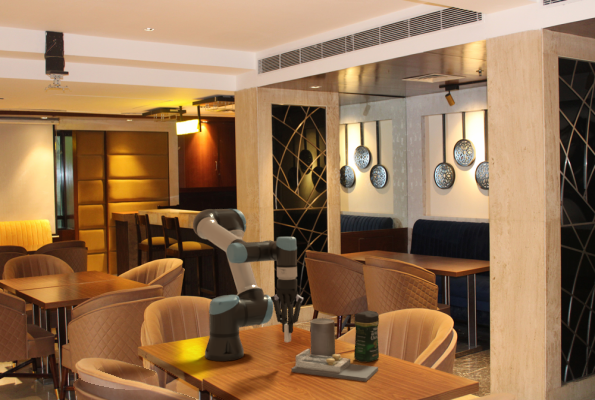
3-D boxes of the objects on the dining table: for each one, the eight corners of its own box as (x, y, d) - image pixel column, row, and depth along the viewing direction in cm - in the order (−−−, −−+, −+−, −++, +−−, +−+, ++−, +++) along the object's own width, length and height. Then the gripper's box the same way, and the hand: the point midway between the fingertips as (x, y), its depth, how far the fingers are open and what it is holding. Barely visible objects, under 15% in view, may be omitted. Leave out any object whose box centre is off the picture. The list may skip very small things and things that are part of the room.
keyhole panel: (295, 367, 207) (295, 355, 207) (307, 359, 217) (307, 348, 217) (340, 373, 200) (339, 361, 200) (350, 364, 210) (350, 353, 210)
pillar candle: (327, 350, 235) (327, 314, 235) (339, 356, 226) (338, 318, 226) (306, 353, 231) (305, 316, 231) (317, 359, 222) (317, 321, 222)
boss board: (291, 371, 206) (291, 358, 206) (307, 361, 219) (306, 348, 219) (366, 381, 195) (366, 367, 195) (378, 370, 208) (378, 356, 208)
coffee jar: (367, 364, 216) (367, 314, 216) (351, 360, 221) (350, 311, 221) (382, 358, 223) (382, 310, 223) (366, 355, 228) (365, 308, 228)
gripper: (266, 278, 214) (267, 342, 214) (298, 280, 209) (299, 345, 208) (275, 276, 221) (276, 337, 221) (306, 277, 215) (307, 340, 215)
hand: (287, 341), depth 214 cm, fingers closed
